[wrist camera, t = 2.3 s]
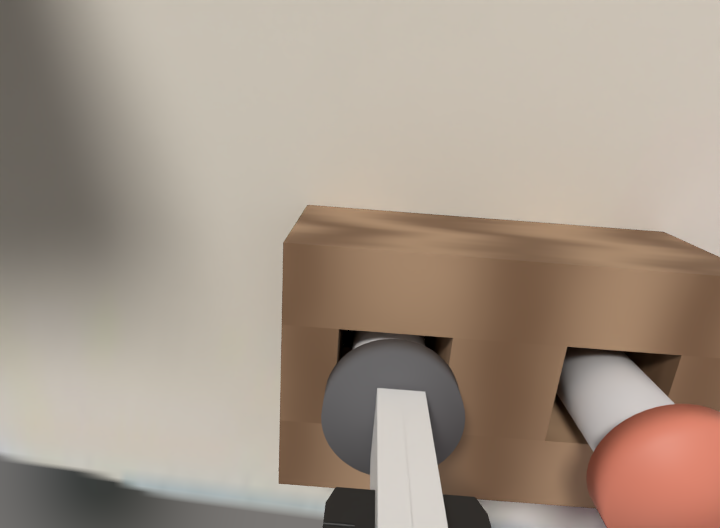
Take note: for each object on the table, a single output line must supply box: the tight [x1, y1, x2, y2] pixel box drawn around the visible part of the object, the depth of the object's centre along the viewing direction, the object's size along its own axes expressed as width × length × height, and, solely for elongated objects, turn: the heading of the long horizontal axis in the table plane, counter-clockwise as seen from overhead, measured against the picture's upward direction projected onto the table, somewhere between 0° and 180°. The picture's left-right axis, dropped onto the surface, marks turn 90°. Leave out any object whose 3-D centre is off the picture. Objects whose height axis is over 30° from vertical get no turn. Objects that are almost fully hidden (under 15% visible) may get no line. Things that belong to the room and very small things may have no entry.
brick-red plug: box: [556, 347, 720, 528], centre depth 16 cm, size 5×5×7 cm
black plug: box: [321, 330, 465, 475], centre depth 19 cm, size 5×5×7 cm
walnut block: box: [279, 205, 720, 508], centre depth 20 cm, size 16×10×6 cm, turn 86°
